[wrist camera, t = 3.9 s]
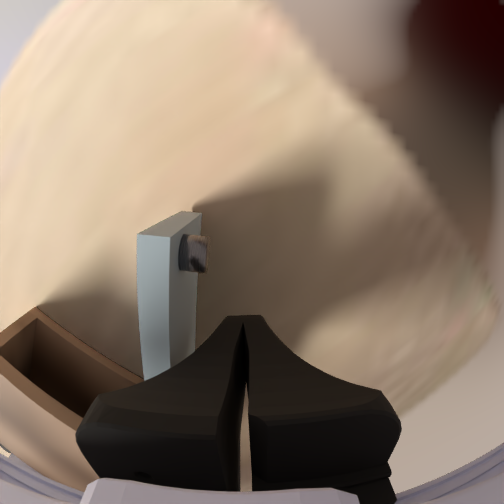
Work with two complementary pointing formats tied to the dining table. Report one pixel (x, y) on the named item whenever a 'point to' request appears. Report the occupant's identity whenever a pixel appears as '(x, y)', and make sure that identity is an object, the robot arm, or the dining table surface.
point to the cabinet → (51, 395)
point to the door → (169, 289)
